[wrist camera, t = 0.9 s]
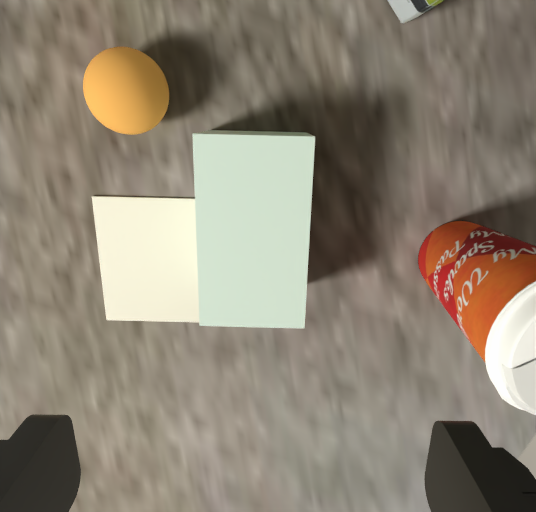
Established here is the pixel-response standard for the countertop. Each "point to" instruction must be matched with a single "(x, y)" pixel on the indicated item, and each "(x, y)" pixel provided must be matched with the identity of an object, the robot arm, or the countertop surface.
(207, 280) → the mint green rectangular block
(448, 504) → the robot arm
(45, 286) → the countertop surface
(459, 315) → the paper cup
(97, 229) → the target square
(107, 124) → the ball
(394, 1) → the tea box
